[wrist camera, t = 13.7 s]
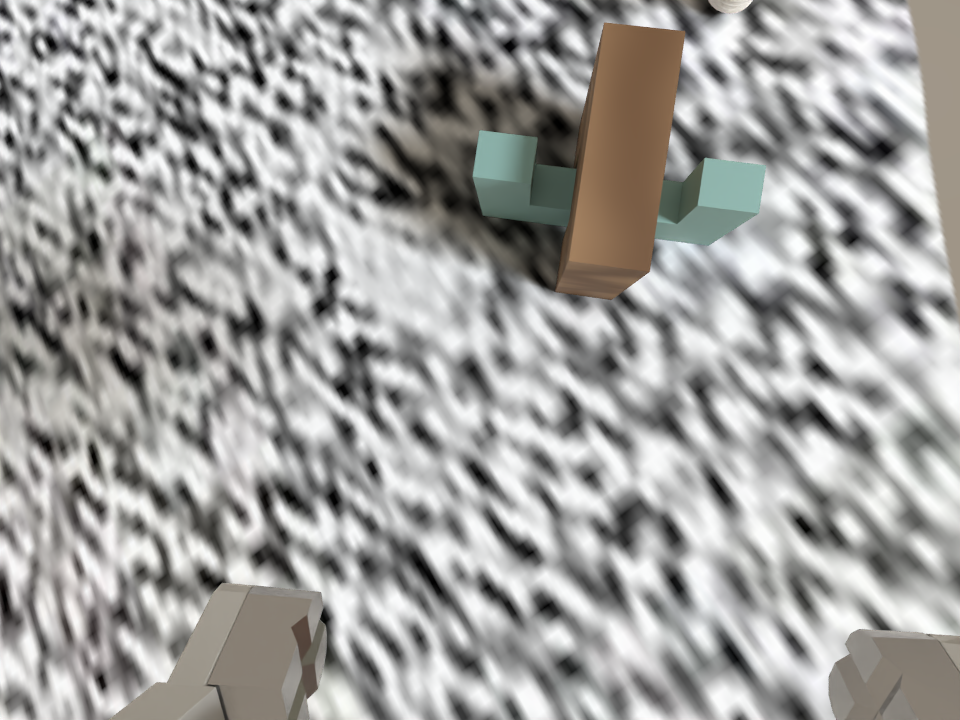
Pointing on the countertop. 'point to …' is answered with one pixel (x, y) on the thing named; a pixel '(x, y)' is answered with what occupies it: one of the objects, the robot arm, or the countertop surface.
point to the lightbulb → (730, 5)
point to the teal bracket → (549, 189)
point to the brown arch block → (620, 161)
